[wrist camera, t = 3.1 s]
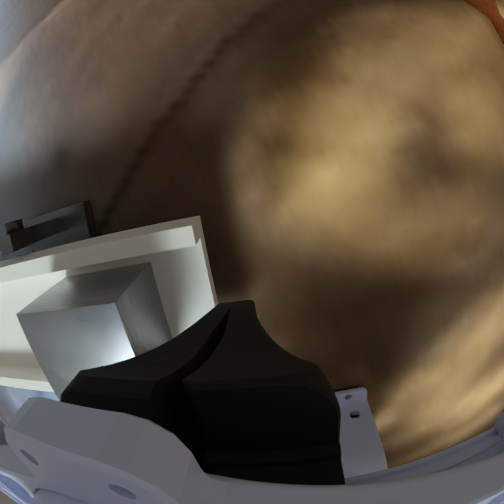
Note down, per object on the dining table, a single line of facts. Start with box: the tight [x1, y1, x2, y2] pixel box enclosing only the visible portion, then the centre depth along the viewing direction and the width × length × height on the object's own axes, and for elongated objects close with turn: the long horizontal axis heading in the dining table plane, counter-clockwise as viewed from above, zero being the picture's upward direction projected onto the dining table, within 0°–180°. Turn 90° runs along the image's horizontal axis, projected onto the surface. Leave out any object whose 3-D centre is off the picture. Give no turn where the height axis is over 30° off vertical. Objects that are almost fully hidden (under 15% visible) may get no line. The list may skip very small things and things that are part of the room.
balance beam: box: [0, 216, 218, 392], centre depth 13 cm, size 22×8×3 cm, turn 99°
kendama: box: [465, 0, 504, 44], centre depth 9 cm, size 6×6×20 cm
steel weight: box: [16, 262, 173, 400], centre depth 11 cm, size 5×5×4 cm
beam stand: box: [0, 201, 97, 255], centre depth 16 cm, size 6×12×6 cm, turn 9°
